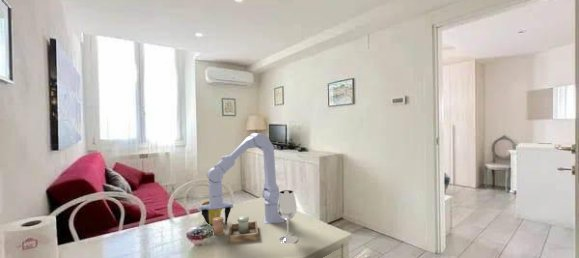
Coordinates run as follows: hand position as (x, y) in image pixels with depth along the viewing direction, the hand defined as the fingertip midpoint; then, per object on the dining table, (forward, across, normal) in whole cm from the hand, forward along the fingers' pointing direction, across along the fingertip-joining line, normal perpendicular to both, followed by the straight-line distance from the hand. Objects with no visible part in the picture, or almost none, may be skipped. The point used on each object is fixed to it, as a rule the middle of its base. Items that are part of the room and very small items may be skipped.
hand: (217, 225), depth 120 cm
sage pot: (+3, -12, +2) cm, 12 cm away
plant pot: (+4, +4, -13) cm, 14 cm away
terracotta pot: (+3, 0, 0) cm, 3 cm away
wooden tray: (+3, -12, +6) cm, 13 cm away
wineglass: (+4, -30, +15) cm, 33 cm away
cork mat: (+3, 0, 0) cm, 3 cm away
